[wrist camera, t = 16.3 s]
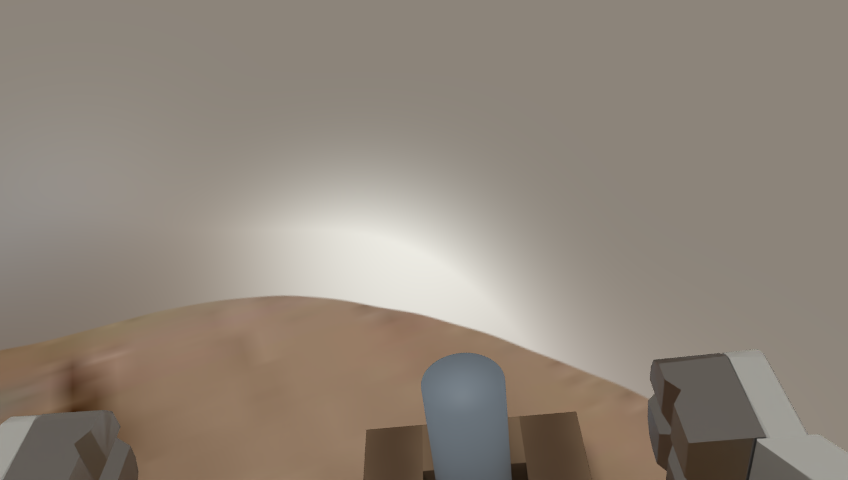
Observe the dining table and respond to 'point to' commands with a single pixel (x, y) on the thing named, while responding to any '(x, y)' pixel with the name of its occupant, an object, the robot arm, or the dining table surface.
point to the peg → (467, 418)
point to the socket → (528, 439)
